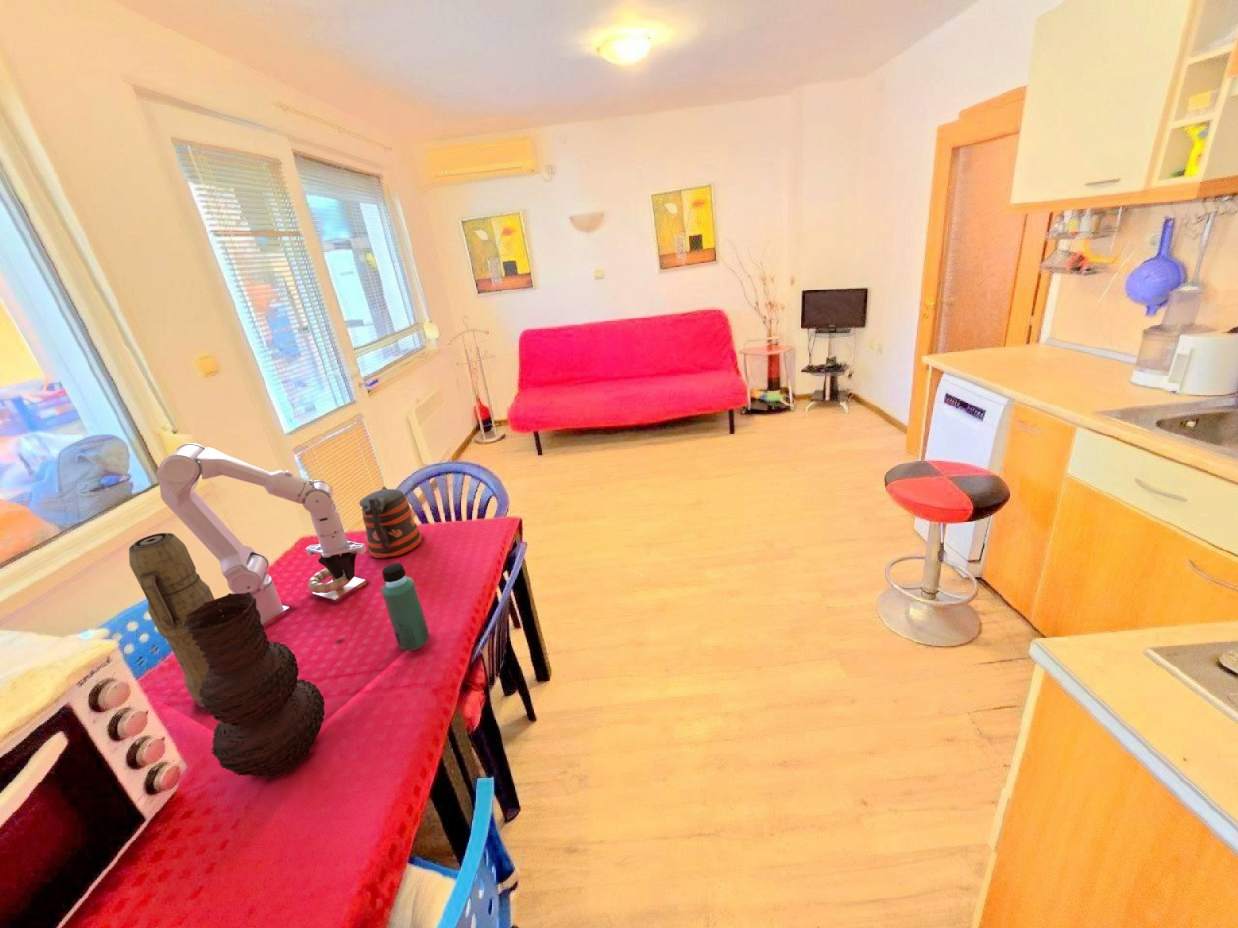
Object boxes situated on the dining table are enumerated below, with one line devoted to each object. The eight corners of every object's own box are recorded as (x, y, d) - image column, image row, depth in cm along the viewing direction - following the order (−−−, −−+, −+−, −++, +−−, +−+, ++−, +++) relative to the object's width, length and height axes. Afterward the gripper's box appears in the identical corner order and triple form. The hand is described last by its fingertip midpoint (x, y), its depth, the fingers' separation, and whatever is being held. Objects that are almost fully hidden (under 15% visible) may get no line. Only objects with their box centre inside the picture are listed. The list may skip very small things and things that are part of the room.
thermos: (258, 666, 106) (193, 519, 93) (245, 706, 96) (170, 547, 83) (208, 681, 103) (133, 531, 90) (188, 725, 93) (101, 563, 80)
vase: (324, 781, 80) (259, 628, 69) (213, 814, 76) (126, 658, 65) (344, 707, 94) (293, 570, 83) (251, 732, 90) (185, 592, 79)
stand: (312, 596, 129) (304, 572, 126) (343, 577, 136) (336, 554, 134) (336, 603, 125) (327, 579, 122) (366, 583, 132) (359, 560, 130)
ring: (300, 595, 124) (297, 587, 123) (327, 571, 134) (324, 563, 133) (339, 594, 123) (336, 586, 122) (363, 570, 132) (361, 562, 131)
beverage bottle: (438, 639, 109) (417, 560, 102) (415, 660, 104) (390, 579, 96) (416, 632, 112) (393, 555, 105) (392, 653, 106) (367, 573, 99)
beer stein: (420, 559, 141) (403, 495, 134) (364, 572, 138) (343, 507, 130) (422, 529, 158) (407, 471, 151) (372, 540, 154) (354, 480, 147)
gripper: (290, 539, 119) (308, 587, 124) (347, 538, 118) (363, 587, 123) (310, 525, 126) (326, 571, 131) (364, 523, 124) (379, 570, 129)
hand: (345, 577), depth 127 cm, fingers closed on ring, 2 cm apart
